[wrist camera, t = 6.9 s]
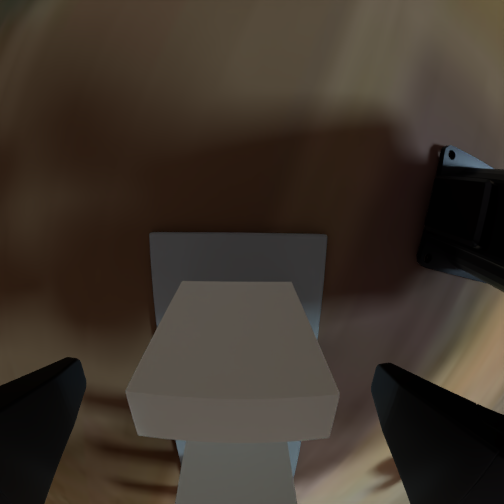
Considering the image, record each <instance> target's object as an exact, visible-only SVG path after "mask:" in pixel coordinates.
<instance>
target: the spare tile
mask: <svg viewBox="0 0 504 504" xmlns="http://www.w3.org/2000/svg"><path fill="white" fill-rule="evenodd" d="M125 392H126V396H127V400H128V403H129V407H130V410H131V414H132V417H133V421H134V424H135V427H136V430H137V433H138V435H140V436H147V437H155V438H163V439H173V440H184V441H197V442H217V443H270V442H290V441H304V440H315V439H324V438H329V437H330V433H331V429H332V425H333V421H334V417H335V413H336V409H337V405H338V400H339V396H340V393H339V391H338V388H337V386H336V384H335V381H334V379H333V377H332V374H331V372H330V369H329V367H328V365H327V362H326V360H325V358H324V355H323V353H322V351H321V348H320V346H319V344H318V341H317V339H316V337H315V334H314V332H313V330H312V327H311V325H310V323H309V321H308V318H307V316H306V314H305V311H304V309H303V307H302V305H301V302H300V300H299V298H298V296H297V293H296V291H295V289H294V287H293V284H292V282H220V281H182V282H181V284H180V286H179V288H178V290H177V292H176V293H175V295H174V297H173V299H172V301H171V303H170V305H169V306H168V308H167V310H166V312H165V314H164V316H163V318H162V320H161V322H160V323H159V325H158V327H157V329H156V331H155V333H154V335H153V337H152V339H151V341H150V343H149V345H148V347H147V348H146V350H145V352H144V354H143V356H142V358H141V360H140V362H139V364H138V366H137V368H136V370H135V372H134V374H133V376H132V378H131V380H130V382H129V384H128V386H127V389H126V391H125Z"/></svg>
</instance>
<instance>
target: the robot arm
mask: <svg viewBox="0 0 504 504" xmlns="http://www.w3.org/2000/svg"><path fill="white" fill-rule="evenodd" d="M449 152H450V153H451V158H449V156H448V153H449ZM427 253H428V258H427V259H426V260H425V261H424V257H425V255H426V254H427ZM417 262H418V263H419V264H420V265H422V266H423V267H425V268H429V269H433V270H437V271H441V272H445V273H449V274H453V275H457V276H461V277H465V278H469V279H472V280H476V281H480V282H484V283H488V284H490V285H492V286H493V287H495V288H497V289H499V290H501V291H503V292H504V170H502V169H494V168H492V167H490V166H489V165H487V164H485V163H484V162H482V161H480V160H478V159H477V158H475V157H473V156H471V155H469V154H467V153H466V152H464V151H462V150H460V149H458V148H456V147H454V146H451V145H449V146H444V147H443V148H442V149H441V153H440V159H439V164H438V170H437V175H436V178H435V181H434V185H433V190H432V195H431V199H430V204H429V208H428V212H427V216H426V220H425V228H424V231H423V235H422V239H421V242H420V246H419V249H418V253H417ZM85 389H86V378H85V375H84V371H83V368H82V365H81V362H80V360H79V359H77V358H71V357H66V358H64V359H62V360H59V361H57V362H55V363H52V364H50V365H48V366H46V367H43V368H41V369H39V370H36V371H34V372H32V373H29V374H27V375H25V376H22V377H20V378H18V379H15V380H13V381H10V382H8V383H6V384H3V385H1V386H0V504H44V503H45V500H46V497H47V494H48V492H49V489H50V486H51V483H52V480H53V478H54V475H55V472H56V469H57V467H58V464H59V462H60V459H61V456H62V454H63V451H64V449H65V446H66V444H67V441H68V439H69V436H70V434H71V432H72V429H73V427H74V424H75V421H76V418H77V414H78V411H79V408H80V405H81V401H82V398H83V395H84V392H85ZM371 392H372V396H373V399H374V403H375V406H376V410H377V413H378V417H379V421H380V424H381V428H382V431H383V434H384V436H385V439H386V441H387V444H388V446H389V449H390V451H391V454H392V456H393V459H394V461H395V464H396V467H397V469H398V472H399V474H400V477H401V480H402V482H403V485H404V488H405V490H406V493H407V496H408V498H409V501H410V504H504V415H502V414H500V413H497V412H495V411H492V410H490V409H488V408H485V407H483V406H481V405H479V404H477V405H476V403H474V402H472V401H470V400H468V399H466V398H463V397H461V396H459V395H457V394H455V393H453V392H450V391H448V390H446V389H444V388H442V387H440V386H438V385H436V384H433V383H431V382H429V381H427V380H425V379H423V378H421V377H419V376H417V375H415V374H413V373H411V372H409V371H406V370H404V369H402V368H400V367H398V366H396V365H394V364H392V363H383V364H379V365H378V366H377V367H376V370H375V374H374V378H373V382H372V386H371Z"/></svg>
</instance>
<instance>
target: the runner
mask: <svg viewBox="0 0 504 504" xmlns="http://www.w3.org/2000/svg"><path fill="white" fill-rule="evenodd" d="M149 239H150V257H151V272H152V284H153V296H154V306H155V316H156V325H157V327H158V325H159V323H160V322H161V320H162V318H163V316H164V314H165V312H166V310H167V308H168V306H169V305H170V303H171V301H172V299H173V297H174V295H175V293H176V292H177V290H178V288H179V286H180V284H181V282H182V281H220V282H292V284H293V287H294V289H295V291H296V293H297V296H298V298H299V300H300V302H301V305H302V307H303V309H304V311H305V314H306V316H307V318H308V321H309V323H310V325H311V327H312V330H313V332H314V334H315V337H316V339H317V338H318V330H319V322H320V313H321V304H322V294H323V284H324V273H325V261H326V248H327V235H326V234H295V233H229V232H151V233H150V234H149ZM185 444H186V441H184V440H176V445H177V449H178V454H179V458H180V462H181V466H182V461H183V455H184V449H185ZM287 444H288V450H289V456H290V462H291V468H292V475H293V478H294V474H295V469H296V464H297V460H298V455H299V450H300V445H301V441H290V442H287Z"/></svg>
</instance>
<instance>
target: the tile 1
mask: <svg viewBox="0 0 504 504" xmlns="http://www.w3.org/2000/svg"><path fill="white" fill-rule="evenodd" d="M175 504H297V500H296V493H295V487H294V481H293V475H292V468H291V462H290V456H289V450H288V444H287V442H270V443H217V442H197V441H186V444H185V449H184V455H183V461H182V466H181V472H180V478H179V484H178V490H177V495H176V502H175Z"/></svg>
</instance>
